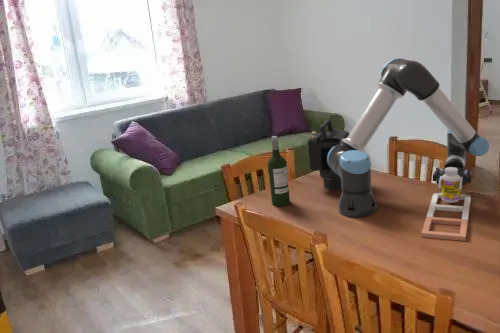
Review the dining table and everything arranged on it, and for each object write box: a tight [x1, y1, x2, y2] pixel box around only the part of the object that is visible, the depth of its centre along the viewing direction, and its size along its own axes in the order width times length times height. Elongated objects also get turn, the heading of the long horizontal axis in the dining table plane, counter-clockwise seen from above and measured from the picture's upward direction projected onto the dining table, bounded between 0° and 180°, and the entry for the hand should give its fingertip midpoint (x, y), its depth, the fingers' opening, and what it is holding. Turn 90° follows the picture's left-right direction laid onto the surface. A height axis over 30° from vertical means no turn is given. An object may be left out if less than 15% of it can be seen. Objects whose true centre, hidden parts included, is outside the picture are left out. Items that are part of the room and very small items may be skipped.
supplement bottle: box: [441, 167, 461, 203], centre depth 189 cm, size 7×7×13 cm
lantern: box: [307, 119, 350, 191], centre depth 222 cm, size 15×18×30 cm
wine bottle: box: [267, 135, 291, 207], centre depth 208 cm, size 8×8×30 cm
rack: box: [421, 192, 472, 242], centre depth 181 cm, size 38×14×2 cm, turn 154°
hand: (449, 185), depth 185 cm, fingers closed on supplement bottle, 7 cm apart
